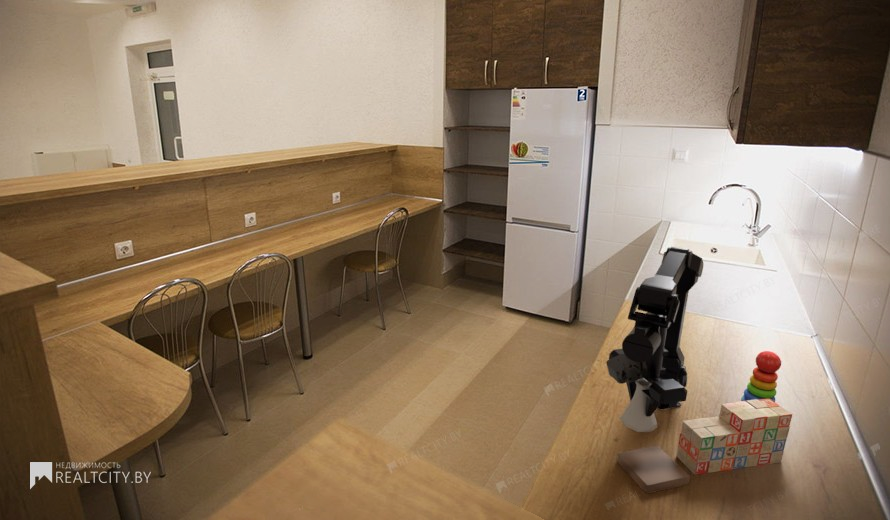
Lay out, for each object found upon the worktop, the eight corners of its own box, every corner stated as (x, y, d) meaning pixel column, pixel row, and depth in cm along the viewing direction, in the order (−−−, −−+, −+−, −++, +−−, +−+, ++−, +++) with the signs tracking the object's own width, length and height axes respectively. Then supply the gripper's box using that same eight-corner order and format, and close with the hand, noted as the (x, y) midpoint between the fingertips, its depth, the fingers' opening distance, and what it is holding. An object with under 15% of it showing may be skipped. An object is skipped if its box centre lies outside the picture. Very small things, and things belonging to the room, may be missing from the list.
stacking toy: (738, 426, 121) (752, 356, 116) (732, 408, 129) (745, 341, 123) (776, 433, 119) (792, 362, 113) (768, 415, 126) (783, 347, 121)
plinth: (616, 461, 109) (617, 453, 109) (656, 453, 112) (657, 445, 111) (646, 493, 100) (647, 485, 100) (688, 484, 103) (689, 476, 102)
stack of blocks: (694, 476, 105) (703, 425, 102) (675, 456, 111) (683, 407, 108) (781, 462, 109) (793, 413, 106) (759, 444, 115) (769, 397, 112)
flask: (613, 417, 111) (618, 377, 109) (639, 410, 114) (644, 371, 111) (637, 436, 105) (643, 394, 102) (663, 428, 108) (670, 387, 105)
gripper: (590, 328, 111) (584, 391, 115) (643, 369, 94) (634, 441, 98) (635, 323, 114) (627, 385, 118) (694, 362, 96) (682, 432, 101)
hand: (640, 409), depth 109 cm, fingers closed on flask, 5 cm apart
